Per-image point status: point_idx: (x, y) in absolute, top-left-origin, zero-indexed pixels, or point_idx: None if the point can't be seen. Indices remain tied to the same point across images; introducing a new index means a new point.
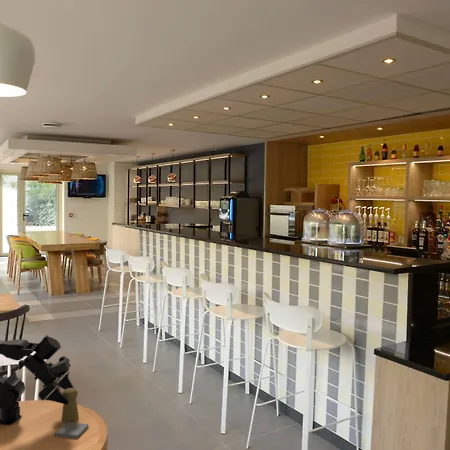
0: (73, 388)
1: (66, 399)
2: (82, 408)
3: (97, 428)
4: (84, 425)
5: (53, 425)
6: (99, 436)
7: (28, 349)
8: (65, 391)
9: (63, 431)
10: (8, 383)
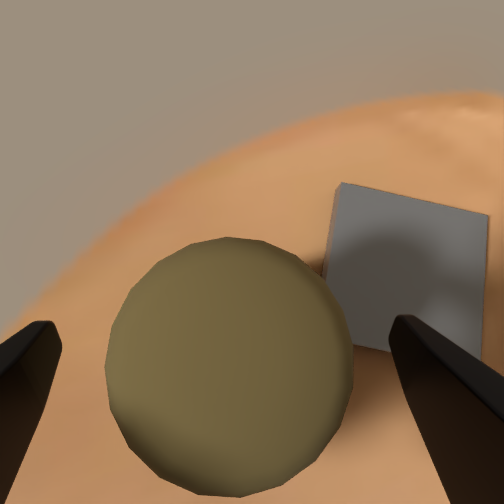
0: (171, 308)
1: (443, 345)
2: (50, 293)
3: (351, 135)
4: (363, 202)
5: None
6: (438, 110)
7: None
8: (307, 435)
9: (451, 319)
10: None
